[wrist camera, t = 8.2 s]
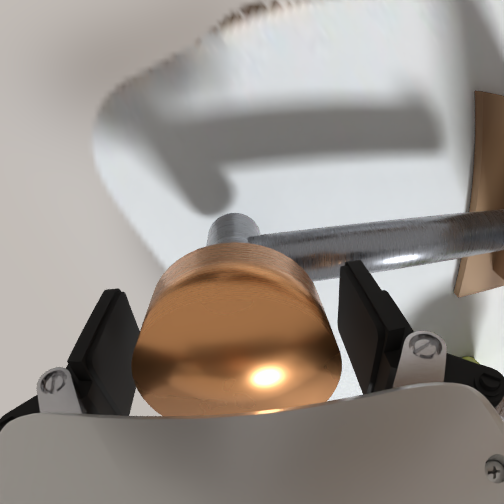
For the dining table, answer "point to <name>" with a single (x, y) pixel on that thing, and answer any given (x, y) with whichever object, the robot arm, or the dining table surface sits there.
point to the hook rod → (274, 308)
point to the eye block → (485, 193)
